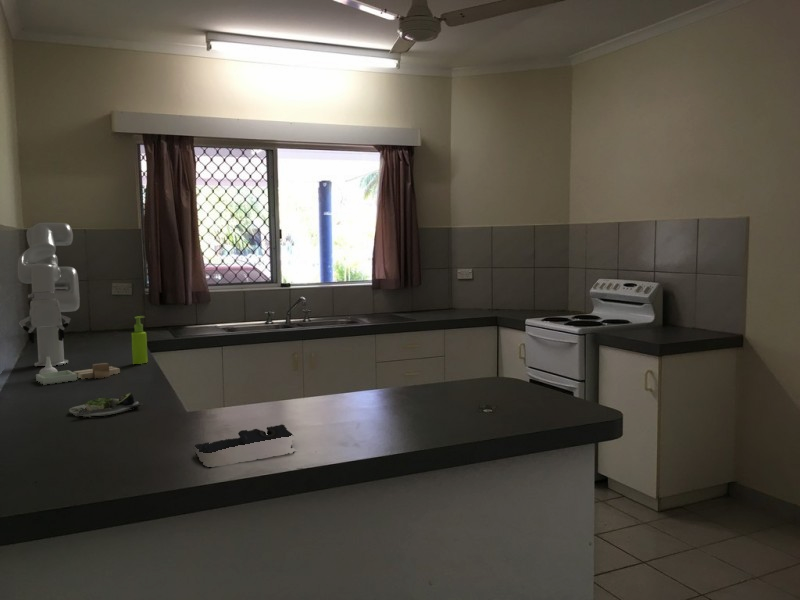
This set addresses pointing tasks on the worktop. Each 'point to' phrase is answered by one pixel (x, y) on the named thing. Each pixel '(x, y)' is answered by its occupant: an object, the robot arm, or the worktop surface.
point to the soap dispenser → (139, 343)
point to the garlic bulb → (48, 367)
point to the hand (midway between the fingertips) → (46, 341)
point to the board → (89, 372)
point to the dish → (56, 377)
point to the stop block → (100, 370)
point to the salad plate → (106, 406)
